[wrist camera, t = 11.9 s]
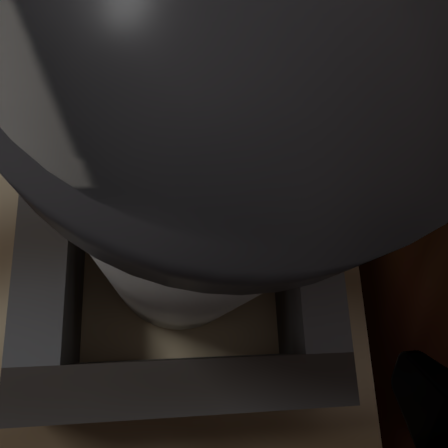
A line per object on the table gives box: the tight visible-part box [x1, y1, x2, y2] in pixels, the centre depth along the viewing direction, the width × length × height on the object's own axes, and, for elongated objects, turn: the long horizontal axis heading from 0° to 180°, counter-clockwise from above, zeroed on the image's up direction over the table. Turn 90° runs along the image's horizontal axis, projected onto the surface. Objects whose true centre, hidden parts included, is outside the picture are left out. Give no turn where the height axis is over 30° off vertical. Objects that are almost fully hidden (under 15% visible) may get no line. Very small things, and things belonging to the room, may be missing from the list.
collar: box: [0, 174, 382, 448], centre depth 15 cm, size 14×14×4 cm
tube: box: [0, 0, 448, 330], centre depth 10 cm, size 5×5×13 cm
